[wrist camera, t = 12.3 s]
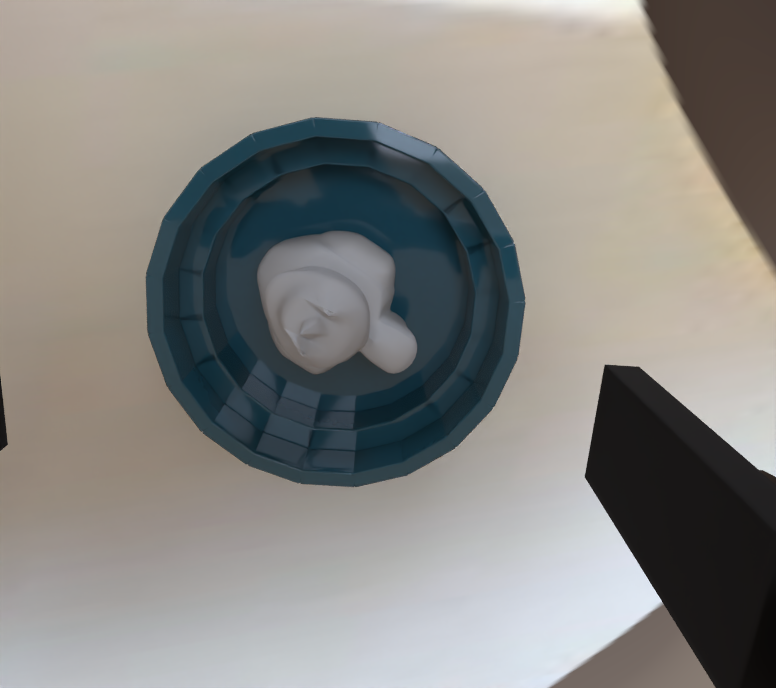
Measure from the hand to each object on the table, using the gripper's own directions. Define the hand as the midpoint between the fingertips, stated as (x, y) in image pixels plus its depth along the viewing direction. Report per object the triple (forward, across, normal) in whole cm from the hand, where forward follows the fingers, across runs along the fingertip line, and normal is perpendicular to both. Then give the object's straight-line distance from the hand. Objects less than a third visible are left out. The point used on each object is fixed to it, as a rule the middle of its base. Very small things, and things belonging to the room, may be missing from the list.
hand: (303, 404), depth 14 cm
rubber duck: (+13, 0, 0) cm, 13 cm away
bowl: (+14, 0, 0) cm, 14 cm away
